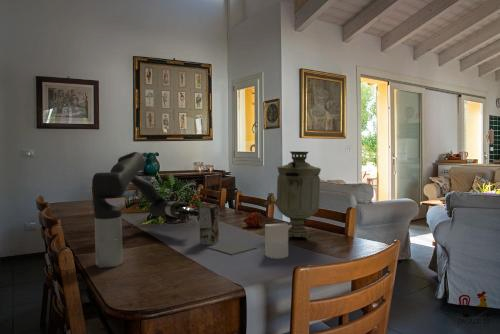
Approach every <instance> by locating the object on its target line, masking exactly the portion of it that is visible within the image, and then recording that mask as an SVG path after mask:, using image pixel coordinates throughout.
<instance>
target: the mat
mask: <svg viewBox="0 0 500 334" xmlns="http://www.w3.org/2000/svg"><path fill="white" fill-rule="evenodd" d="M206 249H209V250H212V249H213V251H216V252H219V253H223V254H227V255H230V254H231V255H230V256H233V254H234V255H237V254H240V253H244V251H245V252H248V250H249V251H252V250H256V249H258V247H256V246H252V245H250V244H249V245H248V244H245V243H240V242H236V241H233V240H230V241H225V242H221V243H215V244H213V245H207V246H206Z"/></svg>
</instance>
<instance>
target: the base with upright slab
mask: <svg viewBox="0 0 500 334" xmlns="http://www.w3.org/2000/svg"><path fill="white" fill-rule="evenodd" d="M288 230H289V224H288V223H285V222H284V223H283V222H282V223H269V224H264V255H266V256H267V257H266V256H265V257H266V258H269V257H270V259H284V258H287V257H289V239H288Z"/></svg>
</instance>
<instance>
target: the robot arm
mask: <svg viewBox="0 0 500 334" xmlns="http://www.w3.org/2000/svg"><path fill="white" fill-rule="evenodd" d="M145 167H146V163H145V158H144V156H143V155H142V154H141V153H140V152H138V151H133V152H130V153H127V154H124V155H122V156H121V157H119V158H118V159H117V163H115V164H114V165H113V166H112V167H111V169H110V172H96V173H94V175H93V177H92V181H91V189H92V198H93V199H92V200H93V211H94V243H95V245H94V246H95V247H94V249H95V266H96V267H98V269H100V268H114V267H115V268H116V267H118V266H120V265H121V264H123V261H124V260H123V259H124V255H123V225H122V224H123V219H122V218H123V217H122V215H123V214H122V213H123V212H122V209H121V208H120V207H118V206H116V205H112V204H110V203H109V202H108V201H106V199H118V198H121V197H122V196H124V194H125V192H126V190H127V188H128V185H129V184H130V183H132V185H134V186H135V188H136V189H138V191H139V192H140V194H141V195H142V196H143V198H144V199H145V201H146V202H147V203H150V205H149V206H148V212H149V213H150V214H151V215H152V216H154V217H162V216H170V217H171V218H172V217H173V218H177V219H183V218H185V217H187V216H194V217H197V216H200V210H198V207H196V206H195V207H190V206H187V204H186V203H185V202H181V201H180V202H179V201H174V200H173V201H172V200H168V199H167V198H165V197H164V196H163V195H162V194H161V193H160V192H158V190H157V188H156V187H155V186H154V184H153V183H152V182H150V181H149V180H147V179H145V178H142V177H141V176H139V175H137V174H138V173H139V172H141V171H142V170H144V169H145Z"/></svg>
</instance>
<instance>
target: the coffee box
mask: <svg viewBox="0 0 500 334" xmlns="http://www.w3.org/2000/svg"><path fill="white" fill-rule="evenodd" d="M219 213H220V211H219V204H218V205H217V204H212V205H208V204H207V205H203V206H201V207H199V245H207V246H212V245H216V244H217V242H219V240H220V234H219V233H220V230H219V229H220V227H219V226H220V222H219V219H220V218H219Z"/></svg>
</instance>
